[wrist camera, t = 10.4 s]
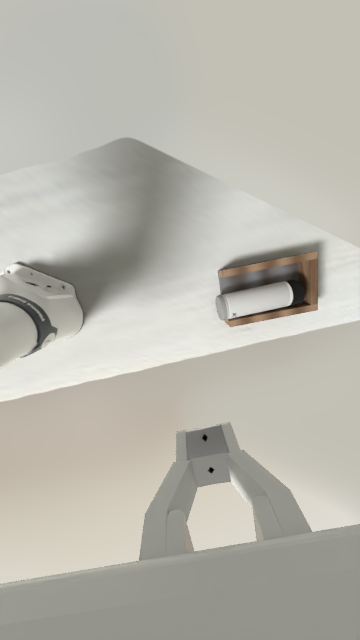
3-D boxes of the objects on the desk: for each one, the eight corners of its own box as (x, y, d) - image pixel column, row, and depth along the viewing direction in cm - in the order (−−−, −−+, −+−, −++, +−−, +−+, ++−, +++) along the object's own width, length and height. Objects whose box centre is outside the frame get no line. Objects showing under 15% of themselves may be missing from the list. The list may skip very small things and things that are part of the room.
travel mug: (224, 324, 41) (308, 306, 41) (220, 297, 40) (307, 278, 39) (218, 318, 48) (290, 302, 47) (214, 294, 46) (289, 278, 45)
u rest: (224, 321, 49) (230, 327, 44) (217, 270, 45) (223, 270, 40) (302, 306, 48) (317, 310, 43) (301, 253, 45) (317, 251, 40)
